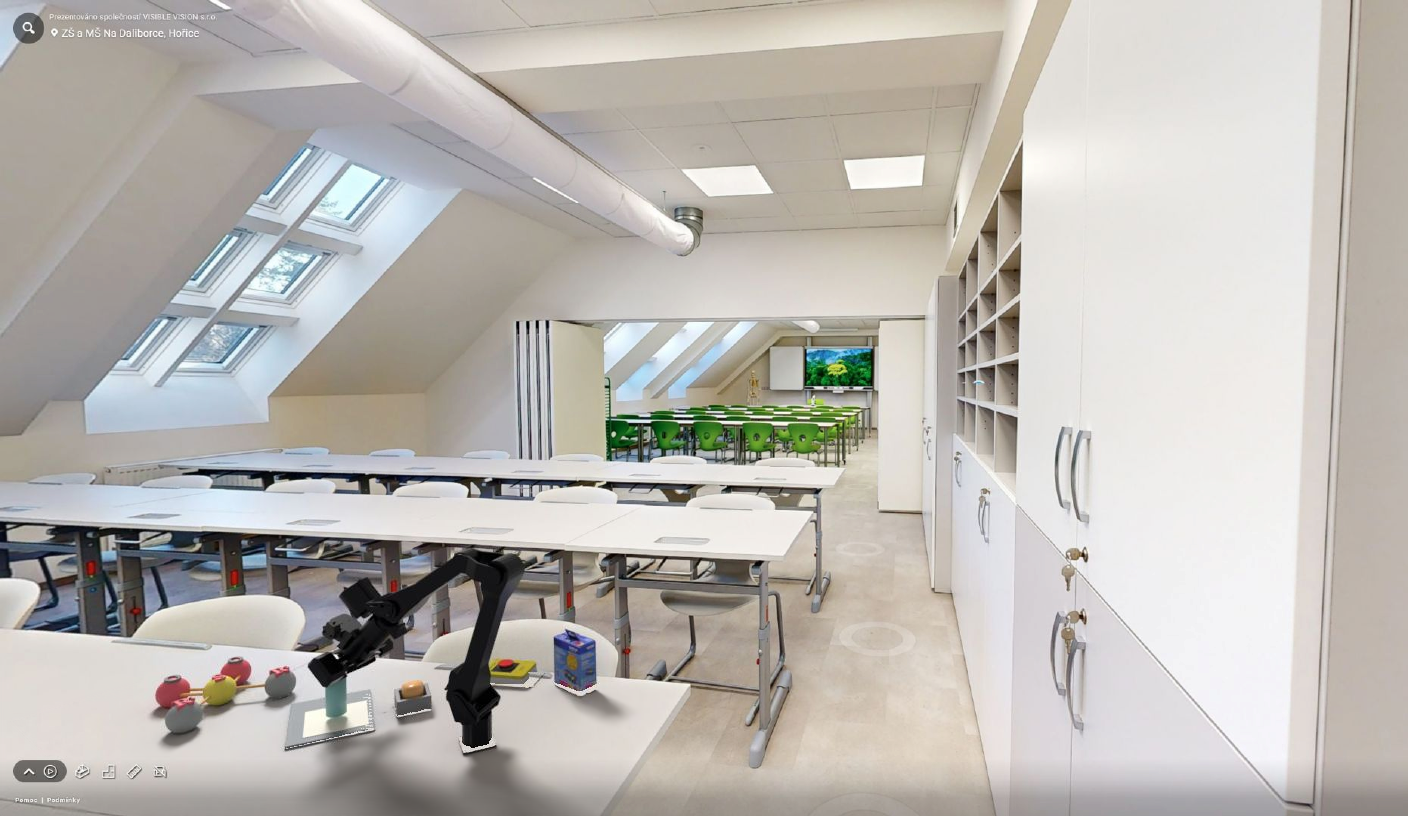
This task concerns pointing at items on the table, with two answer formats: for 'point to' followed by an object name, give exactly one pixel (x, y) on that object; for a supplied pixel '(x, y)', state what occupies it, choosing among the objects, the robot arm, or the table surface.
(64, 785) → the table surface
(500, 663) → the emergency button
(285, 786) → the table surface
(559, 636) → the ink cartridge box
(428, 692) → the button housing
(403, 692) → the button
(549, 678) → the table surface
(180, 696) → the molecule model
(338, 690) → the white-capped teal tube
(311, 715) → the drawing board
